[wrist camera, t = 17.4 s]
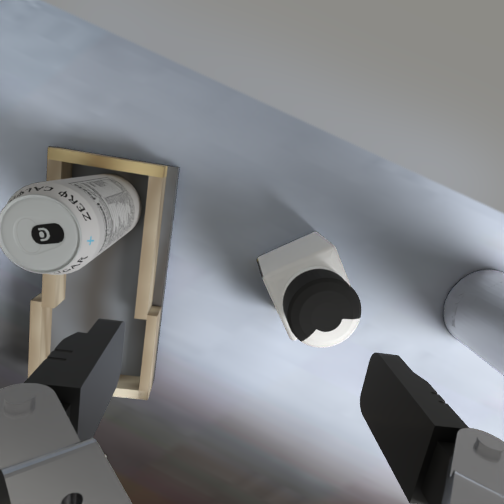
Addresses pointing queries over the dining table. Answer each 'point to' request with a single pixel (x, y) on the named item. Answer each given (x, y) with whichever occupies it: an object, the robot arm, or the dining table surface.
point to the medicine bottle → (311, 291)
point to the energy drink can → (67, 222)
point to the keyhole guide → (113, 273)
